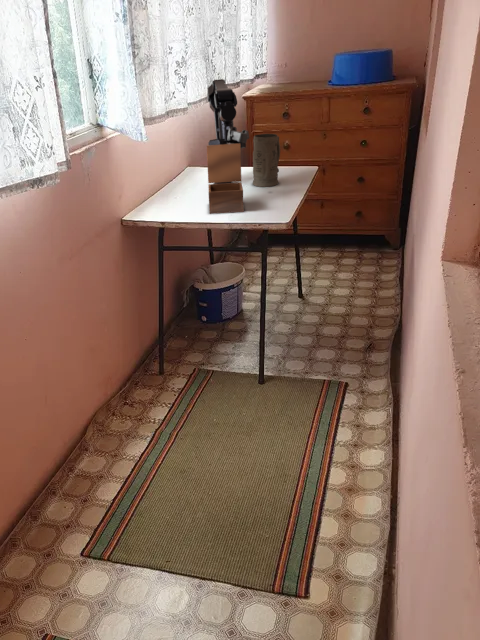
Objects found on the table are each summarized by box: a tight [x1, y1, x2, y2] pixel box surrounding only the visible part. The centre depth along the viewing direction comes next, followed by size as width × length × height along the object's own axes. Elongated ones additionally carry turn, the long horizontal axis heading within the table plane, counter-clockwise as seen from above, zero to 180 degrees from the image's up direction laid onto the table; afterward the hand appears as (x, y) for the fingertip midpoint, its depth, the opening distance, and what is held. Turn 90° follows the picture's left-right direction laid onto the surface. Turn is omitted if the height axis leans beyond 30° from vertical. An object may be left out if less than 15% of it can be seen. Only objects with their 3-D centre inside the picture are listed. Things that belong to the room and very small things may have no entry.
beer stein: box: [252, 133, 281, 188], centre depth 255 cm, size 15×11×20 cm
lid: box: [206, 143, 242, 184], centre depth 228 cm, size 13×13×1 cm
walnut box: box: [207, 181, 245, 215], centre depth 227 cm, size 13×13×8 cm
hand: (228, 167), depth 238 cm, fingers closed
